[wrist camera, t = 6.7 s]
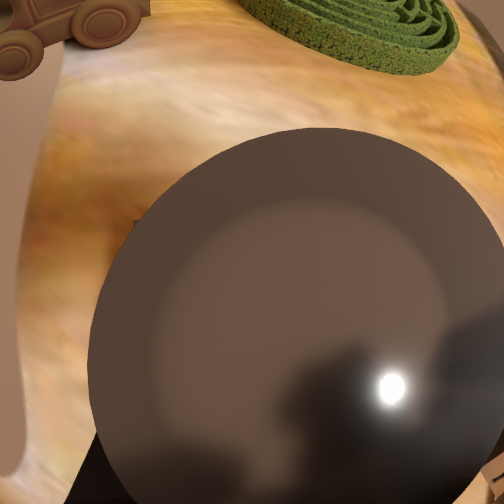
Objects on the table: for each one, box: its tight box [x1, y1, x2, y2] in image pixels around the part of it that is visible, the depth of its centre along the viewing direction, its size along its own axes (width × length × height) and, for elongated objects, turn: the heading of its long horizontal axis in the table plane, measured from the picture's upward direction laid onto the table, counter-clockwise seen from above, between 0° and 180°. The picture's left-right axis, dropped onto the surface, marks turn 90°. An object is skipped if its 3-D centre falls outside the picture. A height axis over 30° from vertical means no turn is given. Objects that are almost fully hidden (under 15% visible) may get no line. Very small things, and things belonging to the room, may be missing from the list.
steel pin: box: [87, 128, 504, 504], centre depth 8 cm, size 4×4×13 cm
